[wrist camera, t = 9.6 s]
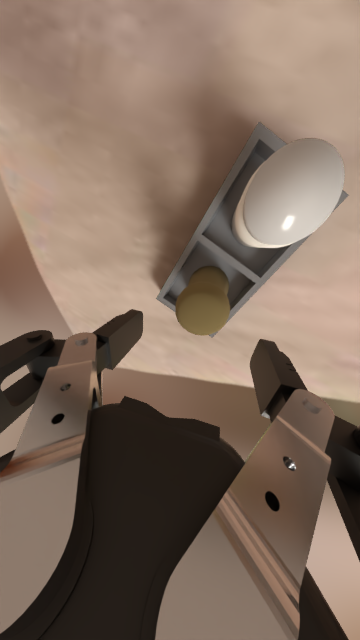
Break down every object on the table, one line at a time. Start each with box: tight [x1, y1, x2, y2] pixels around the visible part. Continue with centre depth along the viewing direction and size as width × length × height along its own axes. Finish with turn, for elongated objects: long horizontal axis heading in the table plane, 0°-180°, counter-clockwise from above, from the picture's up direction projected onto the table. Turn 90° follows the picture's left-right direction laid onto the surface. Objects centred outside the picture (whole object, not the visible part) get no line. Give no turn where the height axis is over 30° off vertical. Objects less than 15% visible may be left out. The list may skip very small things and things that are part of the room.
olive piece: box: [175, 266, 230, 335], centre depth 18 cm, size 6×6×11 cm
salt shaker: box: [231, 138, 345, 248], centre depth 14 cm, size 6×6×10 cm
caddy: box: [156, 122, 348, 337], centre depth 20 cm, size 20×11×3 cm, turn 148°
